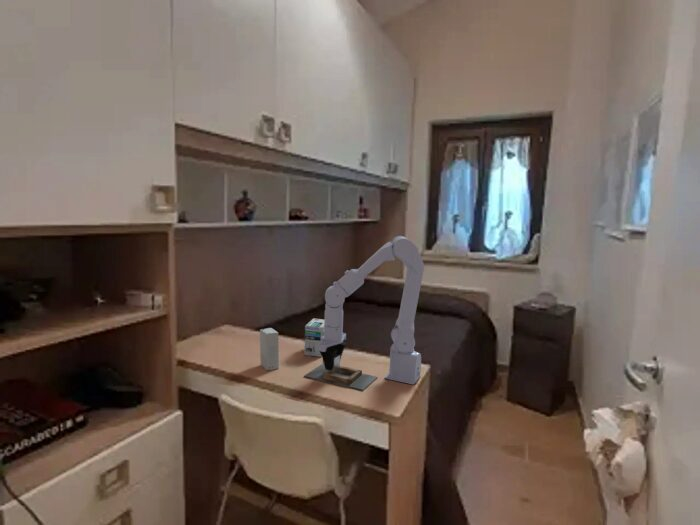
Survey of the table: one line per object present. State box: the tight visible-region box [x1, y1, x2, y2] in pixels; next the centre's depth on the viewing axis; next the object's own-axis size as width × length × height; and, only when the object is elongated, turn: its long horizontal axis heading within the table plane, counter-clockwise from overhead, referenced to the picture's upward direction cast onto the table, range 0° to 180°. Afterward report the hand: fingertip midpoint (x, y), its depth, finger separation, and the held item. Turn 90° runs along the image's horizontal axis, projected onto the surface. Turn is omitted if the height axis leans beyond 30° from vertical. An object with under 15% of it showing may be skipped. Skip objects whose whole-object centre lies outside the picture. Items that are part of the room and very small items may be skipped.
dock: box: [303, 364, 378, 392], centre depth 140 cm, size 20×11×2 cm, turn 65°
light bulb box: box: [304, 318, 324, 358], centre depth 162 cm, size 11×7×11 cm, turn 168°
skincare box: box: [259, 327, 280, 371], centre depth 146 cm, size 6×4×12 cm
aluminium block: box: [321, 354, 341, 375], centre depth 141 cm, size 4×4×6 cm
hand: (332, 367), depth 141 cm, fingers closed on aluminium block, 4 cm apart
